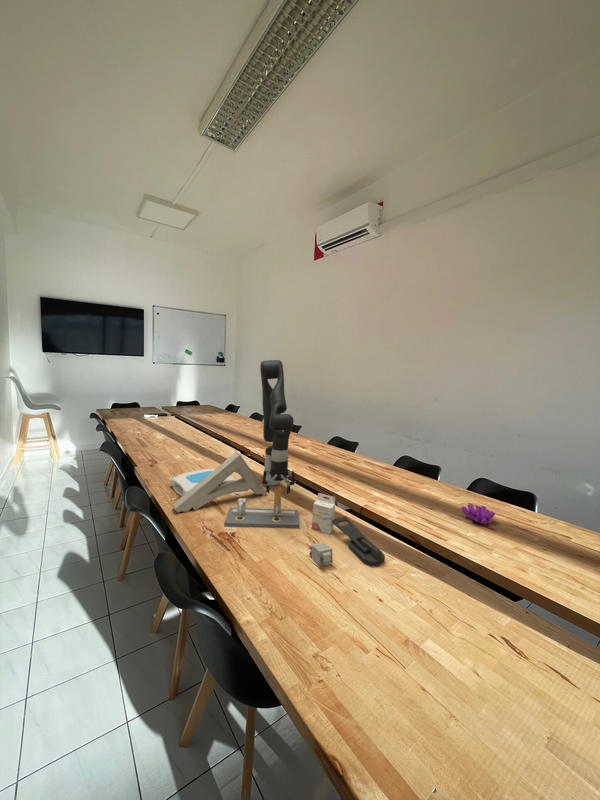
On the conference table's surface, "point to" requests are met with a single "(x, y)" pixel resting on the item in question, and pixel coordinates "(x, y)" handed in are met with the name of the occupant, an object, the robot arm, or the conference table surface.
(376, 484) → the conference table surface
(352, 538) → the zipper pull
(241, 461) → the wall bracket
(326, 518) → the ink cartridge box
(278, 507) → the sliding divider leg
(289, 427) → the robot arm
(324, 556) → the electrical component
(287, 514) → the gauge plate
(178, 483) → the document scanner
